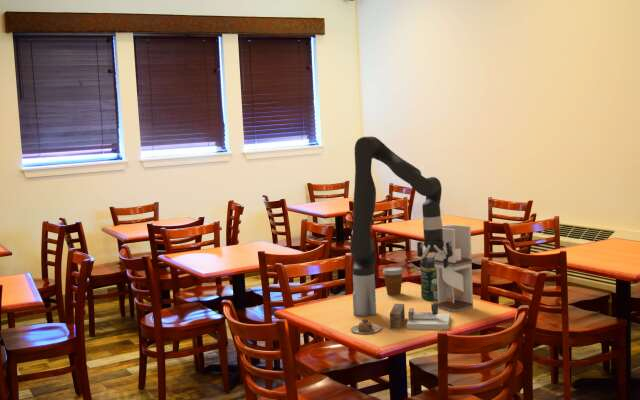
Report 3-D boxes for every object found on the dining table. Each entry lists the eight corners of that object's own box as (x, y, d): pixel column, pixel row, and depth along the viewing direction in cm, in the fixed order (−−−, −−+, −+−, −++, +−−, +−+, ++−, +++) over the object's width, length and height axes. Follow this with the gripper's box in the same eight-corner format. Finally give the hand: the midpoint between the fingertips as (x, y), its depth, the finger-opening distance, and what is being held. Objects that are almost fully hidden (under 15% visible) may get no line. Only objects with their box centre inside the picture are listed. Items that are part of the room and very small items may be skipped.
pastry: (351, 327, 312) (351, 316, 312) (381, 326, 311) (381, 315, 310) (349, 336, 300) (349, 324, 300) (380, 335, 299) (380, 323, 299)
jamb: (390, 328, 306) (389, 313, 305) (395, 317, 321) (394, 303, 320) (401, 328, 305) (400, 314, 304) (405, 318, 320) (404, 303, 320)
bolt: (410, 318, 310) (410, 304, 309) (411, 316, 313) (411, 302, 312) (438, 319, 307) (437, 304, 307) (438, 316, 311) (438, 302, 310)
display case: (436, 307, 334) (433, 227, 330) (453, 303, 340) (450, 224, 336) (455, 312, 325) (453, 229, 321) (473, 307, 331) (470, 226, 327)
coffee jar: (418, 297, 354) (417, 257, 352) (434, 295, 356) (433, 255, 354) (428, 302, 345) (426, 261, 343) (444, 299, 347) (442, 259, 345)
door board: (406, 328, 304) (406, 315, 304) (410, 318, 320) (410, 305, 319) (448, 329, 301) (447, 315, 300) (450, 318, 316) (449, 305, 316)
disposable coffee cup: (382, 296, 359) (381, 271, 358) (384, 291, 369) (383, 266, 367) (403, 296, 358) (402, 270, 356) (404, 291, 367) (403, 266, 366)
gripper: (412, 229, 311) (415, 268, 312) (445, 229, 303) (448, 269, 305) (420, 225, 317) (423, 264, 319) (453, 225, 309) (456, 265, 311)
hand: (435, 267), depth 312 cm, fingers open, 8 cm apart
